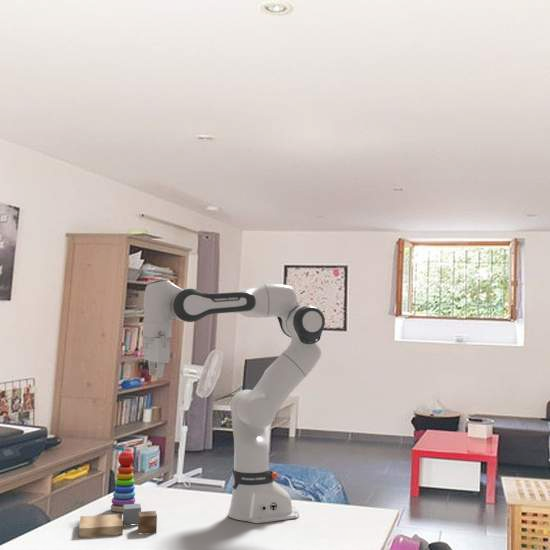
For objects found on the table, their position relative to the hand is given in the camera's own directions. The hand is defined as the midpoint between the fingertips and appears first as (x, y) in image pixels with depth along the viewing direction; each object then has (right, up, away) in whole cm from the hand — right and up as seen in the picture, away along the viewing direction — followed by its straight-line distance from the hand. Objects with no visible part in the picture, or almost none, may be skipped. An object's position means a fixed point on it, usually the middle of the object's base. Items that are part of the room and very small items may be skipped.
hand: (155, 376), depth 198 cm
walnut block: (0, -43, -12) cm, 45 cm away
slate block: (-6, -44, -5) cm, 45 cm away
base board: (-14, -43, -12) cm, 47 cm away
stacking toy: (-12, -45, +9) cm, 48 cm away
